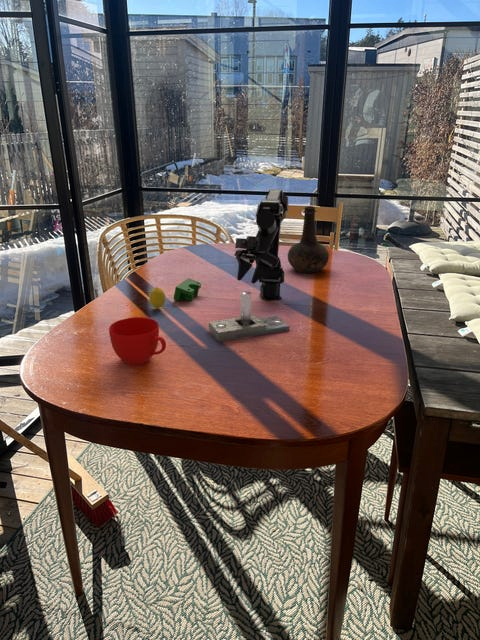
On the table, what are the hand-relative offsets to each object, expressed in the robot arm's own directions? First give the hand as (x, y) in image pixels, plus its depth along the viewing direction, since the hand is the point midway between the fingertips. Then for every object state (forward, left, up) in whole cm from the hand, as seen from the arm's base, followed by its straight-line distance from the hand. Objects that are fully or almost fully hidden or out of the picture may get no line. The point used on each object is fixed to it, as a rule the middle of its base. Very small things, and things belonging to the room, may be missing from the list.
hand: (245, 281), depth 153 cm
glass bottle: (-48, -43, -13) cm, 66 cm away
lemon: (+25, -19, -13) cm, 34 cm away
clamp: (+12, -27, -13) cm, 32 cm away
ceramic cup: (+38, +19, -13) cm, 44 cm away
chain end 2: (0, +10, -13) cm, 16 cm away
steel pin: (+4, +10, -13) cm, 17 cm away
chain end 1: (+7, +10, -13) cm, 18 cm away
